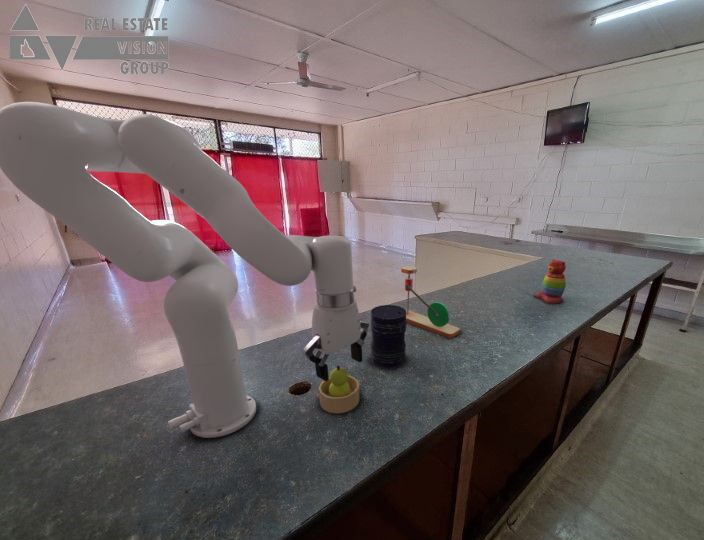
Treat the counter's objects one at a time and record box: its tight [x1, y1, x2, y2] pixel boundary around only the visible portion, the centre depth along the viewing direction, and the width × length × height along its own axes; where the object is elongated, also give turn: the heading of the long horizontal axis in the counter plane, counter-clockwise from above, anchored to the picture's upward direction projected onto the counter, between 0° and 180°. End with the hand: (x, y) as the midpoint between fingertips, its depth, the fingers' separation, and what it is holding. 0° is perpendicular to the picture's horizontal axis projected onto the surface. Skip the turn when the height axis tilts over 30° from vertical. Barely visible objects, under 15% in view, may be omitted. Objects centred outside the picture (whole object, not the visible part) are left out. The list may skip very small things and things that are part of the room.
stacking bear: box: [534, 258, 567, 304], centre depth 140 cm, size 11×10×18 cm
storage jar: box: [370, 304, 407, 369], centre depth 88 cm, size 10×10×15 cm
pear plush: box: [329, 365, 350, 397], centre depth 72 cm, size 5×5×9 cm
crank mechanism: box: [400, 265, 461, 339], centre depth 111 cm, size 25×7×19 cm, turn 49°
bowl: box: [318, 375, 360, 414], centre depth 73 cm, size 9×9×4 cm
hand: (340, 368), depth 71 cm, fingers open, 9 cm apart
